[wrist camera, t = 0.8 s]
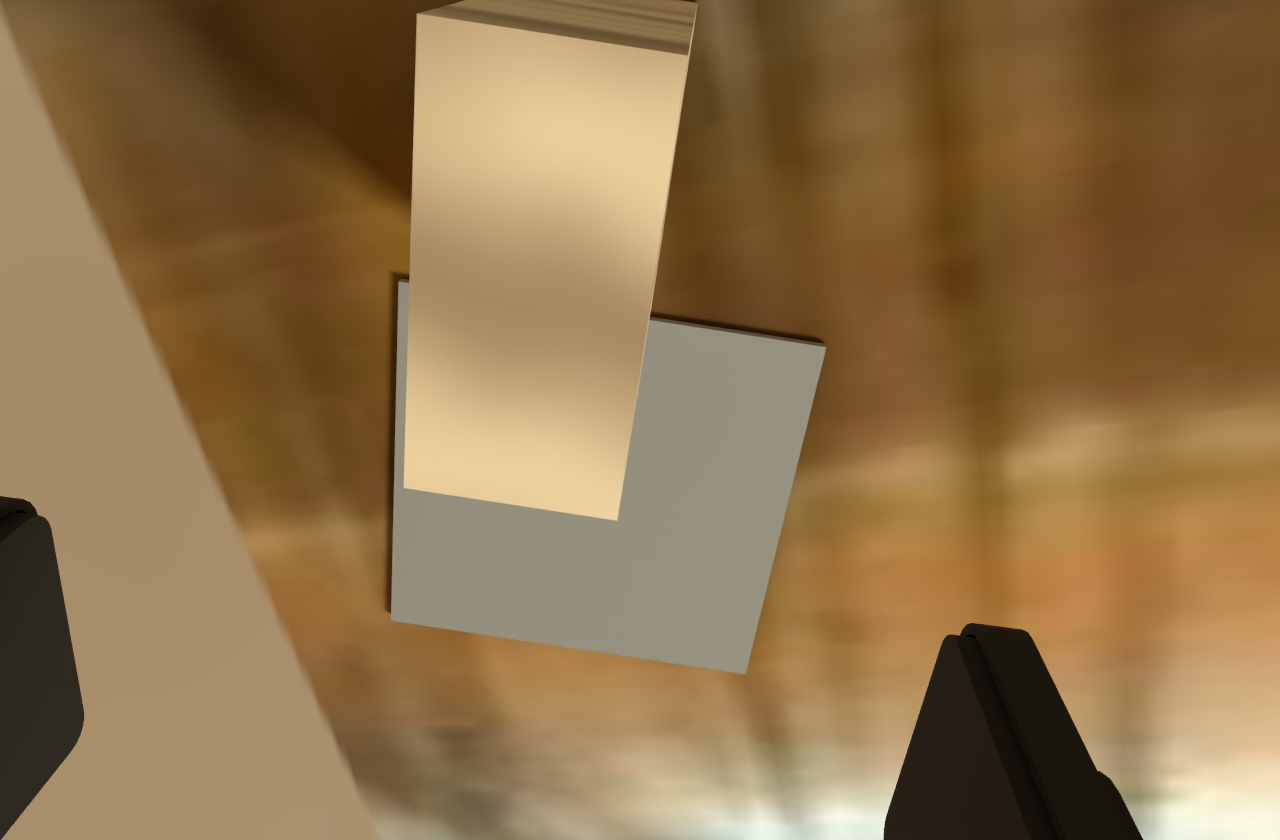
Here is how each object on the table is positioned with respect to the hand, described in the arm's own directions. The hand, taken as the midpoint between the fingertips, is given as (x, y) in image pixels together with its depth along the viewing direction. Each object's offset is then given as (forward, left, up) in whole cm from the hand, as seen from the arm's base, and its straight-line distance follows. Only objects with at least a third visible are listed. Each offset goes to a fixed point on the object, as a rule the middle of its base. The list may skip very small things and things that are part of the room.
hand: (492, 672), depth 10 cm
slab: (-1, -1, -22) cm, 22 cm away
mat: (+11, 0, -22) cm, 24 cm away
